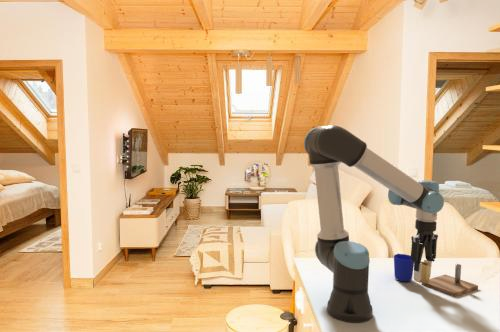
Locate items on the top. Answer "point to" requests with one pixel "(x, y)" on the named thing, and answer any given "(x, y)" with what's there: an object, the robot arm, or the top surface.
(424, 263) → the bushing
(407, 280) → the mug
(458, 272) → the post
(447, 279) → the board
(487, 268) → the top surface
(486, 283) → the top surface
